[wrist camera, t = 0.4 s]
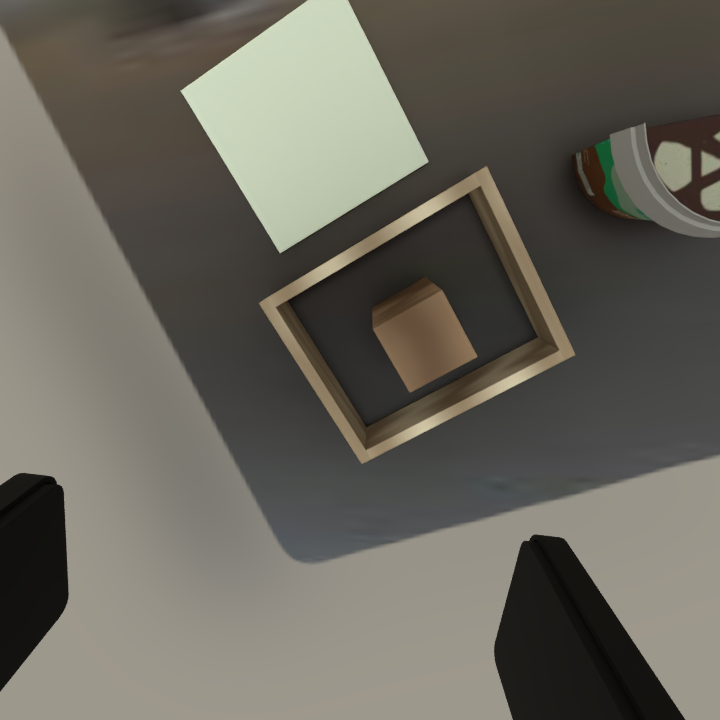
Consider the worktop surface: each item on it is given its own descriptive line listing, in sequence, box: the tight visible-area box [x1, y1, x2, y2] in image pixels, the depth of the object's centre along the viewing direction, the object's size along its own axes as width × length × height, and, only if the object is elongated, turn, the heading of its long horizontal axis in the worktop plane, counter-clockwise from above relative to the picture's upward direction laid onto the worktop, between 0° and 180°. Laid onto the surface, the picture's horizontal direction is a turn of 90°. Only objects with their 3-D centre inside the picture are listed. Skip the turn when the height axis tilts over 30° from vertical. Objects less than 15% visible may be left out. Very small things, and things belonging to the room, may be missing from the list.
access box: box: [259, 166, 575, 464], centre depth 32 cm, size 17×14×4 cm
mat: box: [181, 0, 428, 253], centre depth 30 cm, size 12×12×1 cm
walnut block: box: [372, 277, 477, 392], centre depth 30 cm, size 4×4×8 cm
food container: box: [572, 114, 720, 238], centre depth 26 cm, size 12×6×10 cm, turn 100°
